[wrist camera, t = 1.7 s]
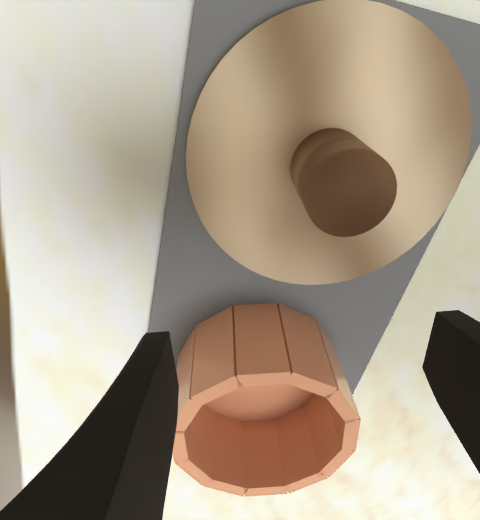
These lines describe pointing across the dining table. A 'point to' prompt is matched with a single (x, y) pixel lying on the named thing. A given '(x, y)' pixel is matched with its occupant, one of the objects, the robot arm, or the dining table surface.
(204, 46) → the mat
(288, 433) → the bowl
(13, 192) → the dining table surface
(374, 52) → the lid
